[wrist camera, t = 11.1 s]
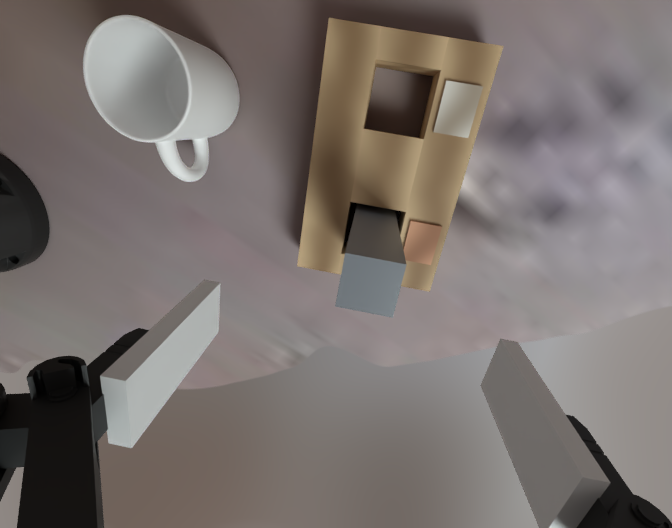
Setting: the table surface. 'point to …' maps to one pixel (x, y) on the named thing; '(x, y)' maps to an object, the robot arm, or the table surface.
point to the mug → (160, 88)
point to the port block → (392, 142)
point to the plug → (372, 262)
